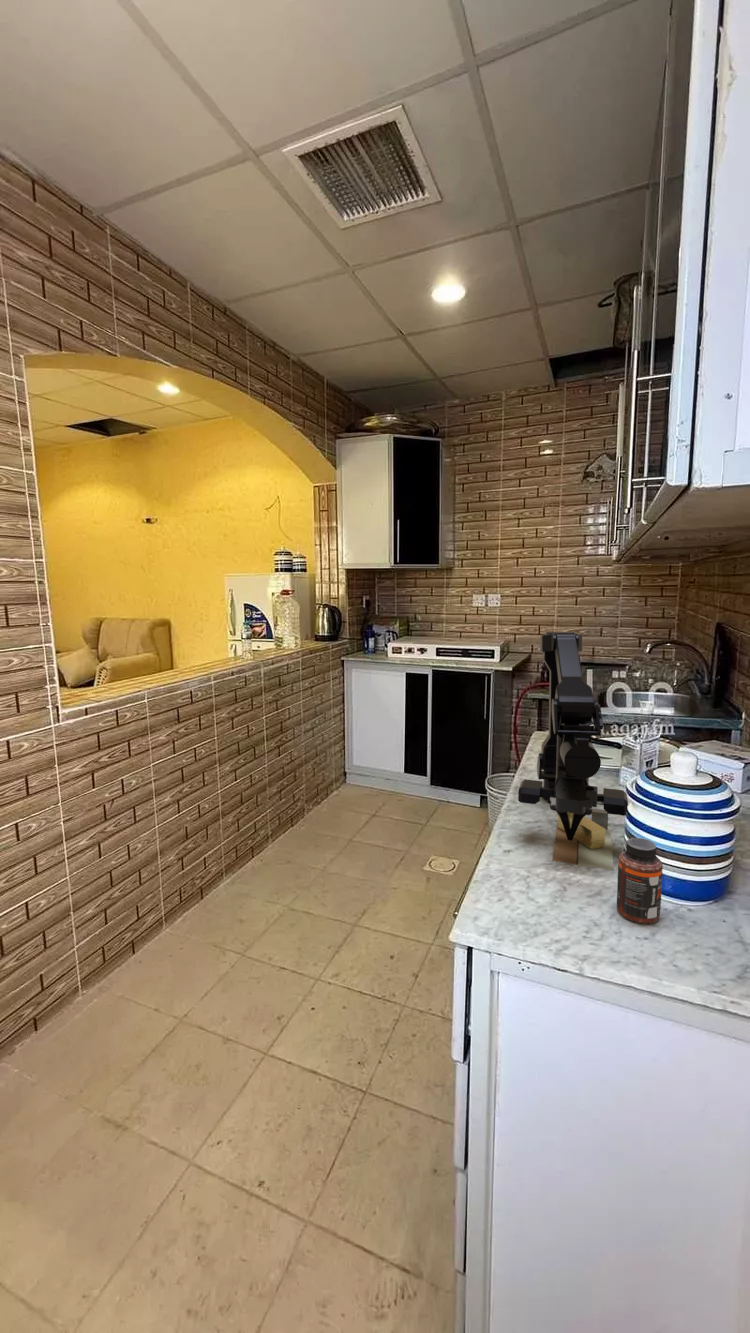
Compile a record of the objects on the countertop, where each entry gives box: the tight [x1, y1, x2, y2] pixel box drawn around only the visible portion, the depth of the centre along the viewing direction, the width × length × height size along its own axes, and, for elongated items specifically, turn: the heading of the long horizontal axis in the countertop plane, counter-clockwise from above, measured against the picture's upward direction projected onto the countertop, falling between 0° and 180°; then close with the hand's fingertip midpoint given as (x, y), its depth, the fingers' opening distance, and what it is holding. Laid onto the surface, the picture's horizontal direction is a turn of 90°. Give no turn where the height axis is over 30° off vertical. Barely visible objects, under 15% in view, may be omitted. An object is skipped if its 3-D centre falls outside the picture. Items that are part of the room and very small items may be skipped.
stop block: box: [590, 808, 609, 830], centre depth 106 cm, size 2×3×4 cm, turn 68°
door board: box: [552, 821, 614, 871], centre depth 100 cm, size 18×10×1 cm, turn 158°
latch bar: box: [557, 812, 605, 849], centre depth 102 cm, size 10×3×4 cm, turn 17°
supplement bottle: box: [616, 837, 663, 924], centre depth 79 cm, size 6×6×11 cm
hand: (570, 839), depth 99 cm, fingers closed
